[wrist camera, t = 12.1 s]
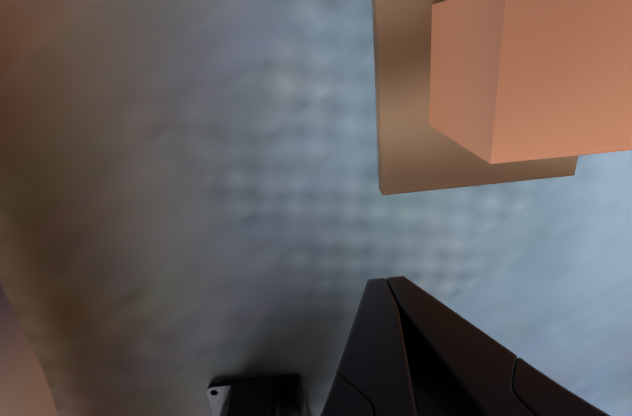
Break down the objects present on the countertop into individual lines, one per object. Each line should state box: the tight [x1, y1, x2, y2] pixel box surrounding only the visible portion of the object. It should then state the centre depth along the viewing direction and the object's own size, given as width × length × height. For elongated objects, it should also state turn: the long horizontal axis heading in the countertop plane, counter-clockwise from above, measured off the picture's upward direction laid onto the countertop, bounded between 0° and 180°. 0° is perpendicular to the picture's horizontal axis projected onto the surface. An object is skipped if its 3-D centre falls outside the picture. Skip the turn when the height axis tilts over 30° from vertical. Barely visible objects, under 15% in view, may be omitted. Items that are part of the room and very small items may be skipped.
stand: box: [372, 0, 578, 195], centre depth 15 cm, size 12×10×7 cm
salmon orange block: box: [429, 0, 632, 164], centre depth 14 cm, size 5×5×7 cm
